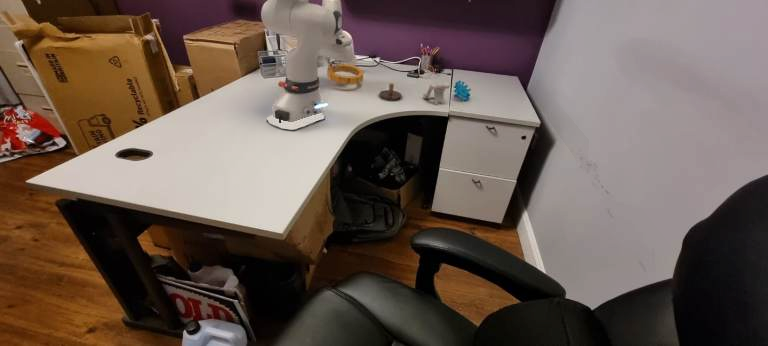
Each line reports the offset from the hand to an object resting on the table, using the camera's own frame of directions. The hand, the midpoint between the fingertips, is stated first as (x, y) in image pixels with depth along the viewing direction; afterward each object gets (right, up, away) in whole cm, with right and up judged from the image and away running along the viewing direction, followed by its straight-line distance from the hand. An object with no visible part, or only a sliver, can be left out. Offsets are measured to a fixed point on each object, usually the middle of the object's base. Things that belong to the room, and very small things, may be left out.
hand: (332, 67), depth 154 cm
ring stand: (+27, -15, -7) cm, 32 cm away
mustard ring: (+6, -5, -1) cm, 8 cm away
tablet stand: (+48, -17, -7) cm, 51 cm away
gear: (+61, -15, -2) cm, 63 cm away
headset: (+3, +9, +25) cm, 26 cm away
